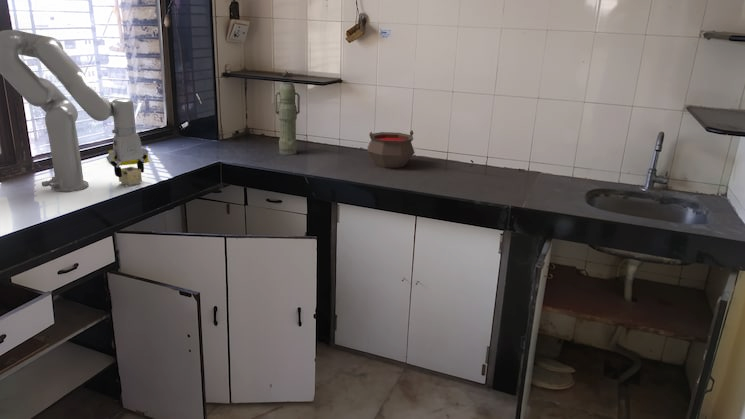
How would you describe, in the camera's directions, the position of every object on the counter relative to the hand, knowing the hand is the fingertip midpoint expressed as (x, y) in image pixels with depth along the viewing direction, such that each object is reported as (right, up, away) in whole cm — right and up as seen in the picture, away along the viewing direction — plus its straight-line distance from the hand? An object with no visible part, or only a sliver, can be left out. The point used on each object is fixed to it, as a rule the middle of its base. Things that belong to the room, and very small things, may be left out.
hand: (130, 174), depth 222 cm
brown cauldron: (+104, +8, +48) cm, 115 cm away
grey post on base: (0, -4, +1) cm, 4 cm away
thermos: (+53, +14, +62) cm, 83 cm away
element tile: (-16, +8, +37) cm, 41 cm away
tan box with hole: (0, -3, +1) cm, 3 cm away
